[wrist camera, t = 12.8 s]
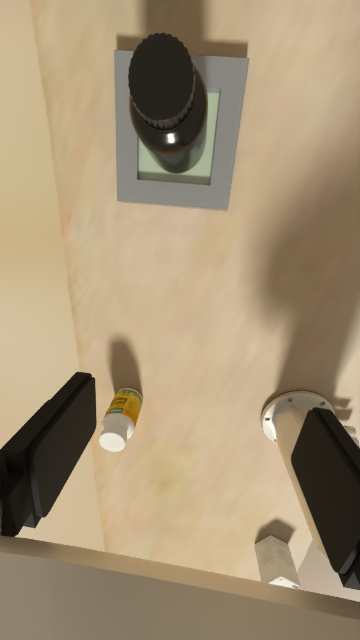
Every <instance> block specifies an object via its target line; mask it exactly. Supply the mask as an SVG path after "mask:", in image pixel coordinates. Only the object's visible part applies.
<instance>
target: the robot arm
mask: <svg viewBox="0 0 360 640" xmlns="http://www.w3.org/2000/svg"><path fill="white" fill-rule="evenodd" d="M261 425H262V428H263V431H264V433H265V435H266V436H267V437H268V438H269V439H270V440H271V441H272V442H274V443H276V444H278V447H279V450H280V452H281V455H282V458H283V460H284V463H285V466H286V468H287V471H288V474H289V476H290V479H291V482H292V484H293V487H294V490H295V492H296V495H297V498H298V500H299V503H300V506H301V508H302V511H303V514H304V516H305V519H306V522H307V524H308V527H309V529H310V532H311V535H312V537H313V540H314V542H315V544H316V545H317V547H318V549H319V551H320V552H321V553H322V555H323V556H324V558H325V559H326V560H327V561H328V562H329V563H330V564H331V566H332V568H333V570H334V571H335V572H337V573H338V574H339V577H340V579H341V582H342V584H343V587H346V588H351V589H357V590H360V448H359V442H358V440H357V438H356V437H354V436H350V435H355V434H356V430H355V428H354V427H353V426H342V424H341V423H340V422H339V420H338V419H337V417H336V414H335V411H334V409H333V407H332V405H331V404H330V403H329V402H328V401H327V400H326V399H325V398H324V397H323V396H321V395H319V394H317V393H313V392H309V391H294V392H288V393H285V394H282V395H280V396H278V397H276V398H275V399H273V400H272V401H271V402H270V403H269V404H268V405H267V406H266V407H265V409H264V410H263V413H262V416H261ZM95 429H96V392H95V378H94V377H92V375H91V374H90V373H84V372H76V373H75V374H74V375H73V376H72V377H71V379H70V380H69V381H68V382H67V383H66V384H65V385H64V386H63V387H62V388H61V389H60V390H59V391H58V392H57V393H56V394H55V395H54V396H53V397H52V398H51V399H50V400H48V401H47V402H46V403H45V404H44V405H43V406H42V407H41V408H40V409H39V410H38V411H37V412H36V413H35V414H34V415H33V416H32V417H31V418H30V419H29V420H28V421H27V422H26V423H25V424H24V426H22V428H21V429H20V430H19V431H18V432H17V433H16V434H15V435H14V436H13V437H12V438H11V439H10V440H9V441H8V442H7V443H6V444H5V445H4V446H3V447H2V448H1V449H0V640H360V602H357V601H352V600H348V599H343V598H339V597H334V596H328V595H324V594H319V593H314V592H309V591H304V590H299V589H294V588H289V587H284V586H279V585H274V584H269V583H264V582H259V581H254V580H249V579H243V578H238V577H233V576H228V575H223V574H218V573H213V572H207V571H202V570H197V569H192V568H187V567H181V566H176V565H171V564H166V563H161V562H155V561H150V560H145V559H139V558H134V557H129V556H123V555H118V554H113V553H107V552H102V551H97V550H91V549H85V548H81V547H75V546H69V545H63V544H56V543H51V542H45V541H39V540H33V539H26V538H18V537H15V536H16V535H18V533H19V532H20V530H21V528H22V527H23V526H26V527H31V528H36V526H37V524H38V522H39V521H40V519H41V517H46V516H47V515H48V513H49V512H50V510H51V508H52V506H53V504H54V503H55V501H56V499H57V497H58V496H59V494H60V492H61V490H62V489H63V487H64V485H65V483H66V481H67V480H68V478H69V476H70V474H71V473H72V471H73V469H74V467H75V465H76V464H77V462H78V460H79V458H80V456H81V454H82V453H83V451H84V449H85V448H86V446H87V444H88V442H89V441H90V439H91V437H92V435H93V433H94V431H95Z"/></svg>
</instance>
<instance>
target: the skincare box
mask: <svg viewBox="0 0 360 640" xmlns="http://www.w3.org/2000/svg"><path fill="white" fill-rule="evenodd" d="M255 551H256V556H257V561H258V566H259V571H260V577H261V582H264V583H269V584H274V585H279V586H284V587H289V588H294V589H296V588H298V587H300V583H299V579H298V576H297V572H296V569H295V566H294V562H293V559H292V556H291V552H290V549H289V546H288V544H287V543H285V542H283V541H281V540H279V539H277V538H275V537H273V536H272V535H270V536H268V537H266V538H264V539H263V540H261V541H259V542H258V543H256V544H255Z"/></svg>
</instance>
